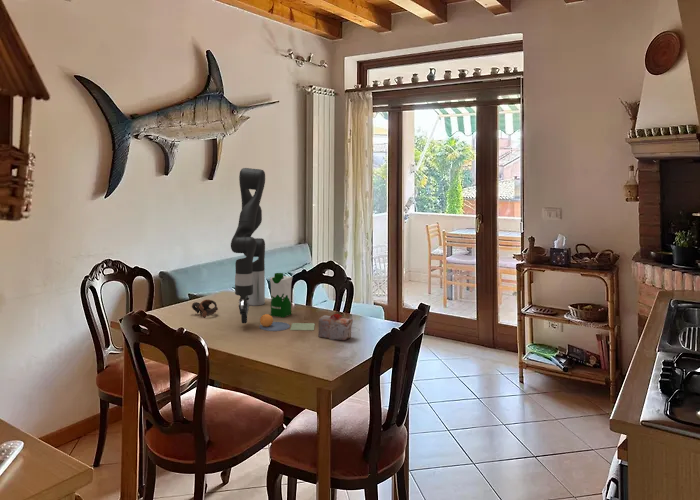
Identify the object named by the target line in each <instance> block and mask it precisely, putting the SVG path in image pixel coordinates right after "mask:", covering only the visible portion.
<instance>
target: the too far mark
mask: <svg viewBox="0 0 700 500" xmlns="http://www.w3.org/2000/svg"><path fill="white" fill-rule="evenodd" d="M315 325H316V324H315V323H314V322H291V325H290V328H289V330H290V331H315Z"/></svg>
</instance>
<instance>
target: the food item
mask: <svg viewBox="0 0 700 500" xmlns="http://www.w3.org/2000/svg"><path fill="white" fill-rule="evenodd" d="M352 326H353V319H352V318H346V317H345V318H344V317H343V316H342V315H341V314H339V313H334V314H332V315H322V316H320V317H319V318H318V328H317V329H318V333H317V334H318V338H324V339H329V340H332V341H333V340H337V341H346V340H348V339H350V338H352Z"/></svg>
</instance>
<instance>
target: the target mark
mask: <svg viewBox="0 0 700 500" xmlns="http://www.w3.org/2000/svg"><path fill="white" fill-rule="evenodd" d="M258 327H259V329H261V330H262V331H268V332H280V331H285V330H288V329H290V328H291V325H290V324H289V323H286V322H282V321H273V323H272V325H271V326H269V327H264V326H262V325H261V324H259V326H258Z"/></svg>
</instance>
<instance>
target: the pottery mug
mask: <svg viewBox="0 0 700 500" xmlns="http://www.w3.org/2000/svg"><path fill="white" fill-rule="evenodd" d="M212 304H213V305H214V307H210V305H212ZM191 308H192V310H193V311H195V312H196V313H197V314H200V315H201V314H202V315H201V318H204V319H205V318H206V317H208V316H211V315H213V314H215V313H217V311H218V310H219V308H218V306H217V302H216V301H214V300H212V299H203V300H201V301H200V302H196V301H193V303H192V304H191Z"/></svg>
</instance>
